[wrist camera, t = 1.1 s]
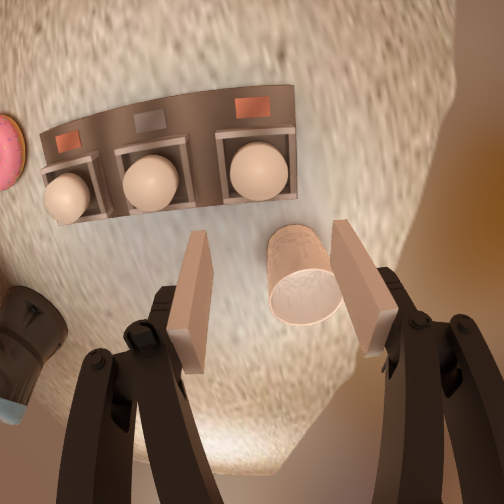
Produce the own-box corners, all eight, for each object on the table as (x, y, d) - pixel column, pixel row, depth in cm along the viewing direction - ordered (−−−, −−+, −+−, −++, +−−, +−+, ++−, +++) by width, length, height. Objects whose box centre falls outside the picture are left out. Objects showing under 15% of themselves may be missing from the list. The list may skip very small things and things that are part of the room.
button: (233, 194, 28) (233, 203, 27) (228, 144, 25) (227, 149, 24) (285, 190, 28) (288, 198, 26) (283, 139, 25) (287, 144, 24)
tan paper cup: (255, 229, 36) (259, 281, 28) (317, 212, 35) (340, 259, 27) (271, 277, 41) (279, 332, 32) (327, 262, 40) (347, 314, 31)
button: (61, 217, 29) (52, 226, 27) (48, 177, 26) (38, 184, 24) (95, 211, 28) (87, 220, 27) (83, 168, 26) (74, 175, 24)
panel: (76, 213, 34) (58, 233, 30) (52, 128, 27) (29, 138, 23) (293, 188, 34) (300, 206, 29) (289, 84, 27) (297, 85, 23)
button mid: (136, 205, 28) (130, 214, 27) (125, 159, 26) (117, 165, 24) (182, 199, 28) (179, 208, 27) (174, 150, 26) (169, 156, 24)
